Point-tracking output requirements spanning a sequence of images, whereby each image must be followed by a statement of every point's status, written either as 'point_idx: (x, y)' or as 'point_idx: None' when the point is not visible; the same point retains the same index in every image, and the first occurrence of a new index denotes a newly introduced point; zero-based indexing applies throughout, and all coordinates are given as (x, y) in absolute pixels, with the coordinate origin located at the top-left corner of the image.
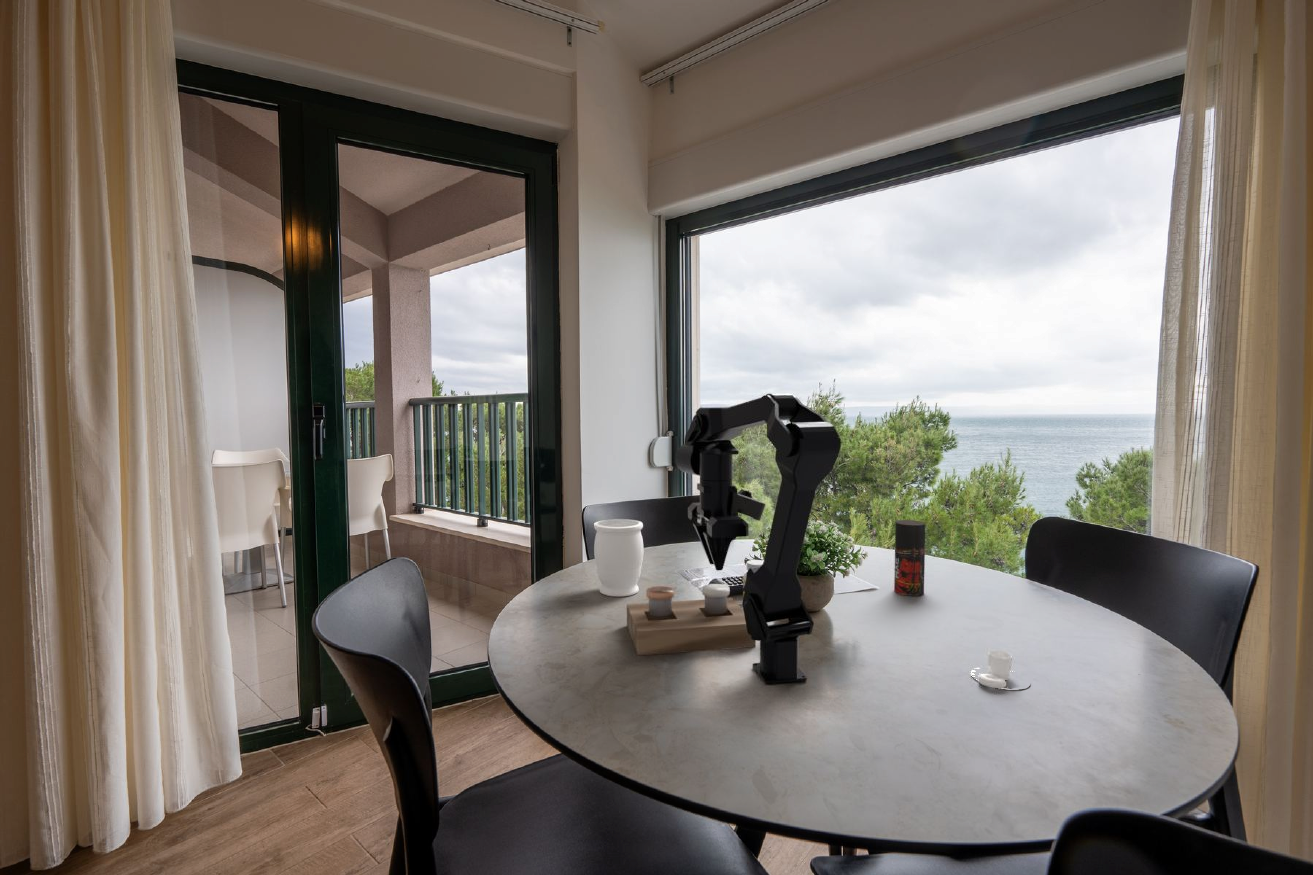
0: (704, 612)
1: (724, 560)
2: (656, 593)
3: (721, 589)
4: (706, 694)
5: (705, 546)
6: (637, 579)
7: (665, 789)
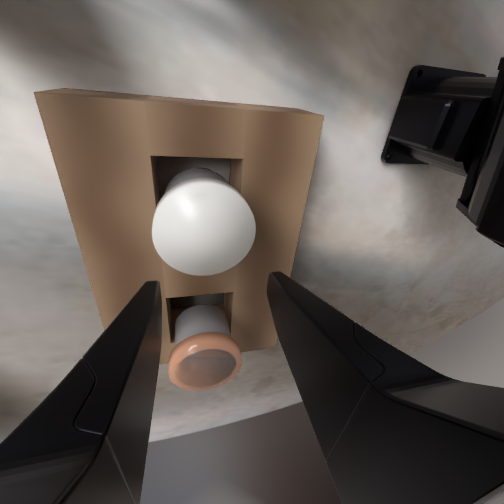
0: None
1: (314, 297)
2: (234, 372)
3: (230, 220)
4: (408, 250)
5: (151, 410)
6: None
7: (498, 299)
